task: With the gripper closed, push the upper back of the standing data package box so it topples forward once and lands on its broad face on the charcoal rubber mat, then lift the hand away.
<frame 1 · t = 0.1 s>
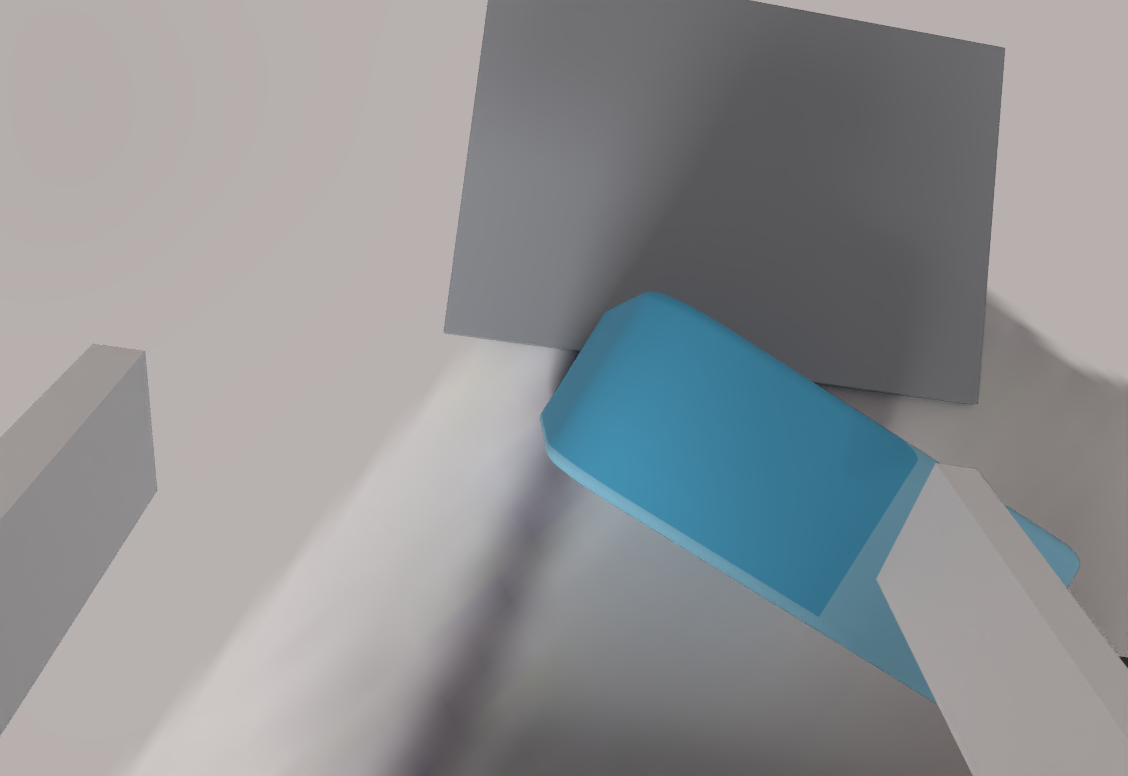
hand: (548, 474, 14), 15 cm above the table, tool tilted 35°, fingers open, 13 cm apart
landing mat: (736, 185, 31), on the table
data package: (709, 451, 30), on the table, touching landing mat
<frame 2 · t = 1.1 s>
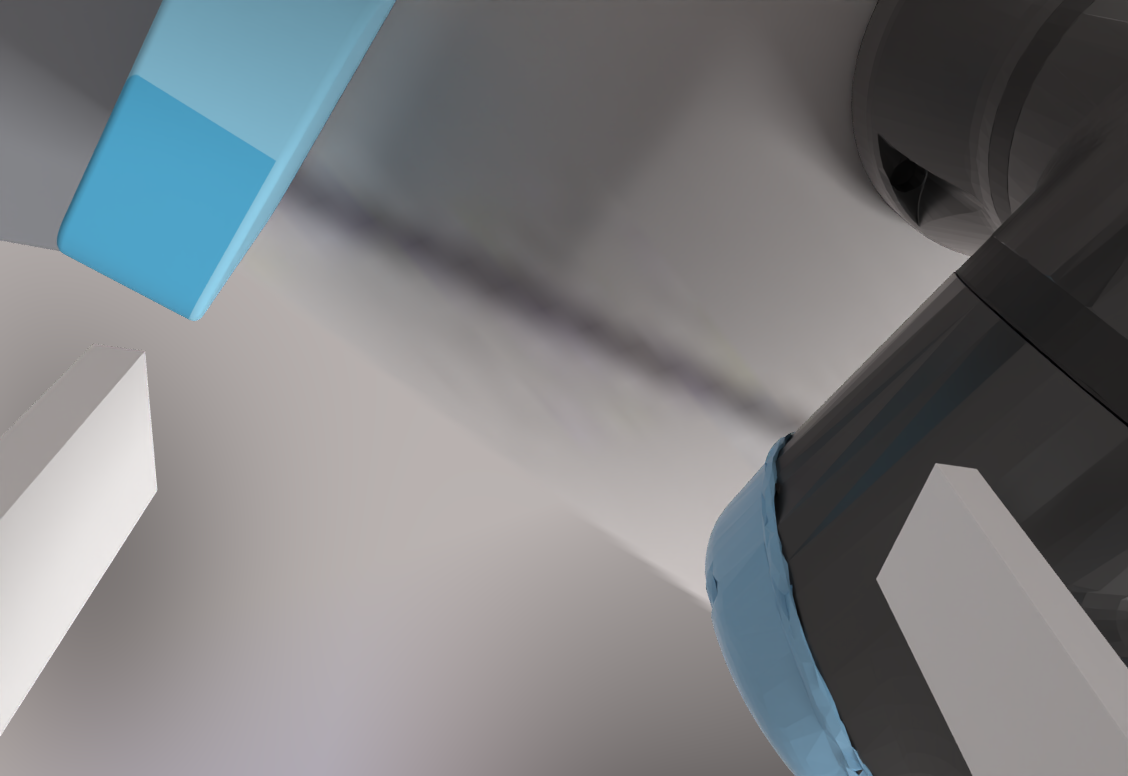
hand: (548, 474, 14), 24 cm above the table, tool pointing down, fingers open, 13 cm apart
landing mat: (30, 9, 32), on the table
data package: (290, 64, 33), on the table, touching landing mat
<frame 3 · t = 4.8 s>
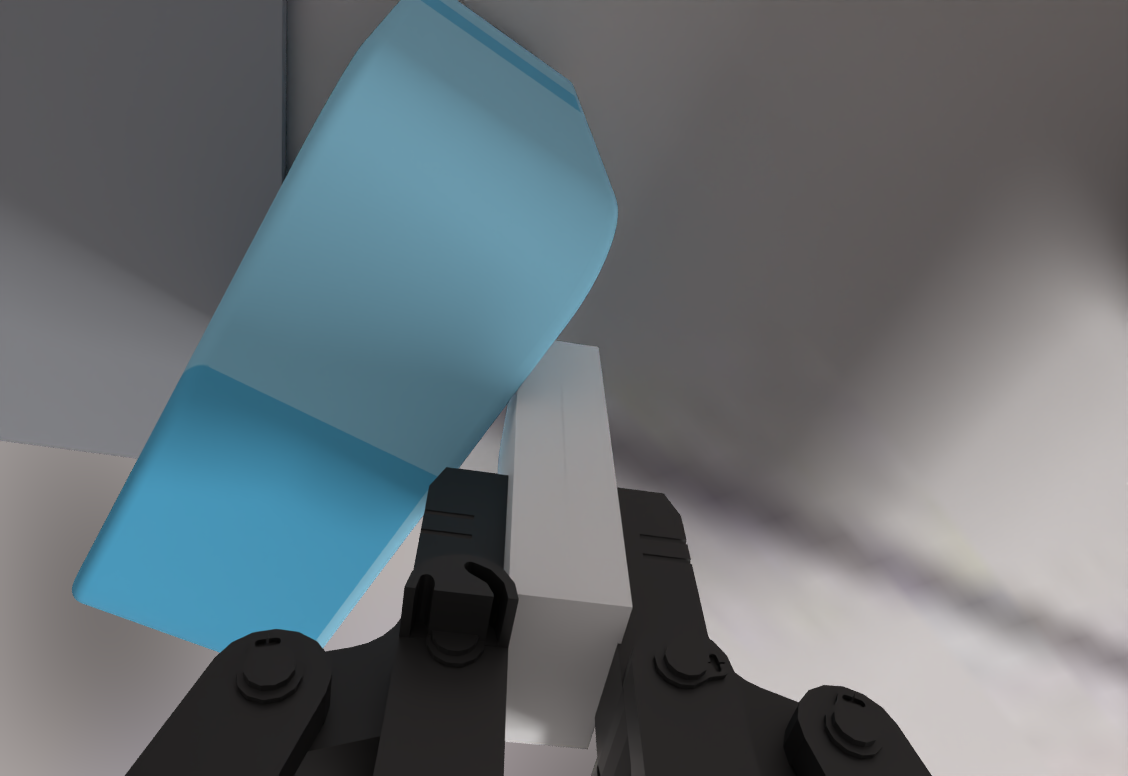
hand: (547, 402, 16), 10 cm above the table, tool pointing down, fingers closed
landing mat: (27, 148, 23), on the table
data package: (390, 209, 24), on the table, touching gripper, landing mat
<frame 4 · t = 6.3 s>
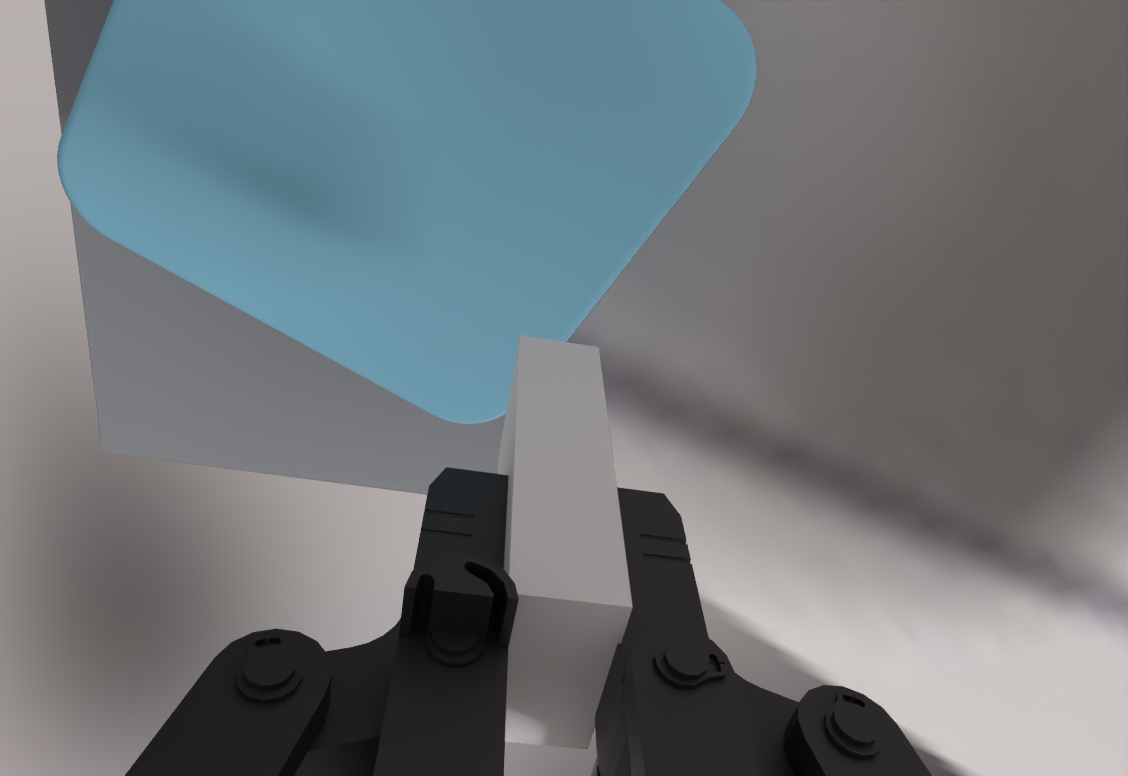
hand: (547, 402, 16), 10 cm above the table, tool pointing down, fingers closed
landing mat: (328, 195, 23), on the table
data package: (619, 248, 22), point 3 cm above the table, touching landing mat
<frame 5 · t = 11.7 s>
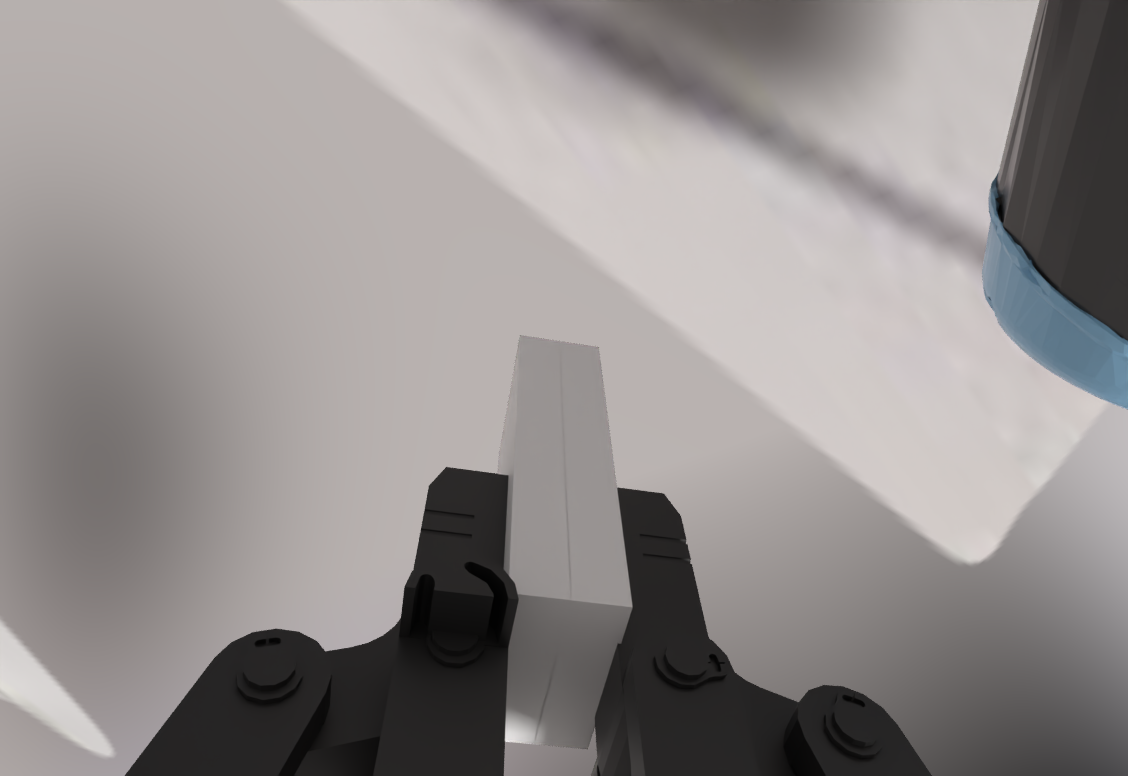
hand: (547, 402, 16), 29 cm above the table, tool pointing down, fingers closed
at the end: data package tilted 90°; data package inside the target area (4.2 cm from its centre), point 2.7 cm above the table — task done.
